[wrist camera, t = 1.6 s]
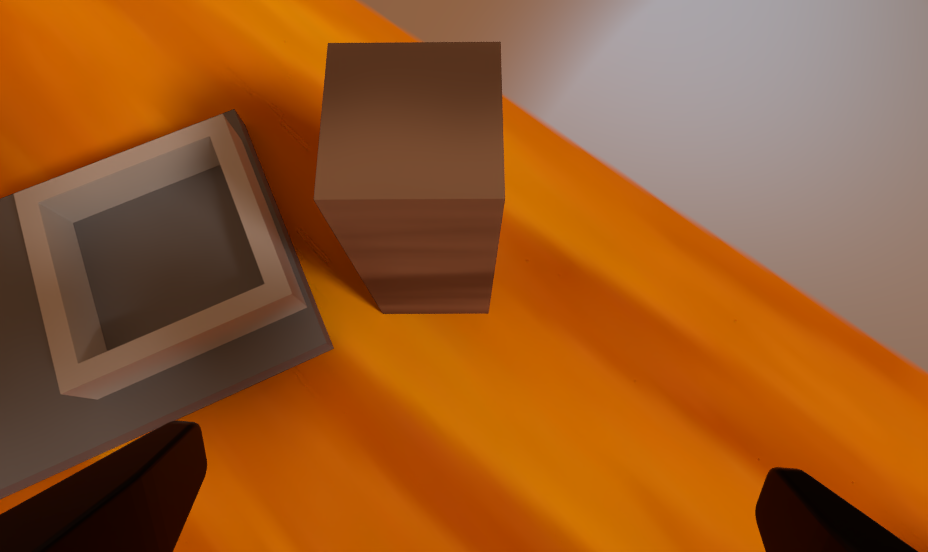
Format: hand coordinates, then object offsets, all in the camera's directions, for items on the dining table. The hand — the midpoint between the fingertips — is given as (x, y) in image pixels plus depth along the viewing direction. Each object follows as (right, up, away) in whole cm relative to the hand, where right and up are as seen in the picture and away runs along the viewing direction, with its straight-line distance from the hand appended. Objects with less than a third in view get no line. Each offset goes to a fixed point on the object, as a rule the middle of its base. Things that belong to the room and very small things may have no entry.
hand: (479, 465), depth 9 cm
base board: (-18, +1, +14) cm, 23 cm away
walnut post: (-1, +3, +15) cm, 16 cm away
